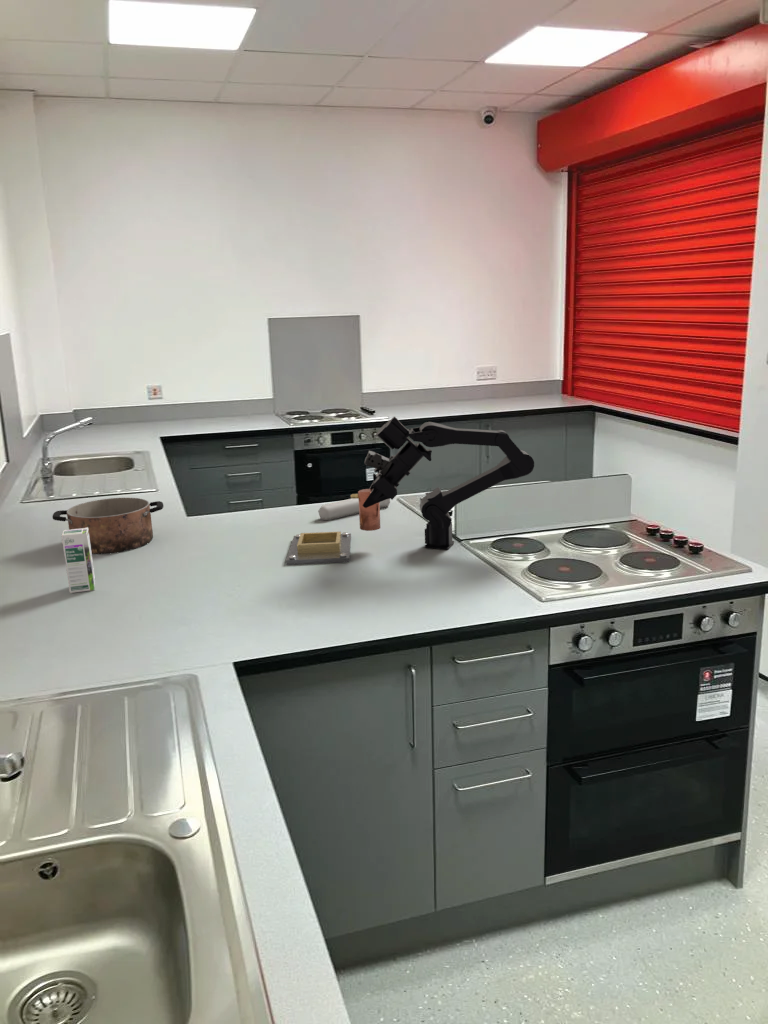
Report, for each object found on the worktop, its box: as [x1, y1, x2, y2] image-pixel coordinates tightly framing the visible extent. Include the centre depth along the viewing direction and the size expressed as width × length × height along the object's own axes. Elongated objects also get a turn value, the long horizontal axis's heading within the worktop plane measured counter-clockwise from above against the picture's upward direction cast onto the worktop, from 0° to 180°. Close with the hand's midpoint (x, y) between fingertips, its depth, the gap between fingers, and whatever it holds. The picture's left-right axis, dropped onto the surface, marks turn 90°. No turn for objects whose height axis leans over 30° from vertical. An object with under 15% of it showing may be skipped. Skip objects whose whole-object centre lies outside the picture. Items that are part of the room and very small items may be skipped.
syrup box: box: [61, 527, 96, 594], centre depth 196 cm, size 6×6×14 cm
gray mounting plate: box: [285, 531, 352, 566], centre depth 220 cm, size 16×22×4 cm
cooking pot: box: [52, 497, 164, 555], centre depth 234 cm, size 30×22×11 cm
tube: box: [317, 497, 391, 521], centre depth 257 cm, size 5×5×25 cm
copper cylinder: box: [350, 488, 381, 532], centre depth 217 cm, size 8×6×10 cm
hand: (363, 503), depth 217 cm, fingers closed on copper cylinder, 5 cm apart
